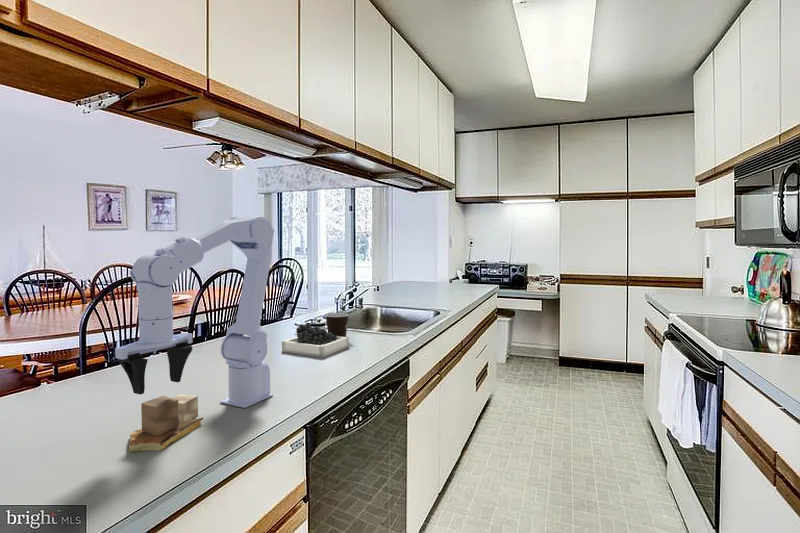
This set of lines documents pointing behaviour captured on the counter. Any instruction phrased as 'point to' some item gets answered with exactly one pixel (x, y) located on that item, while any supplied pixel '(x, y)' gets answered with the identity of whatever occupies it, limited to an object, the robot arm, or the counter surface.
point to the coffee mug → (337, 324)
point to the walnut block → (159, 415)
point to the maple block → (187, 407)
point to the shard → (161, 436)
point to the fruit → (313, 335)
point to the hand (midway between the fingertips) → (157, 387)
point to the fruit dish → (315, 347)
